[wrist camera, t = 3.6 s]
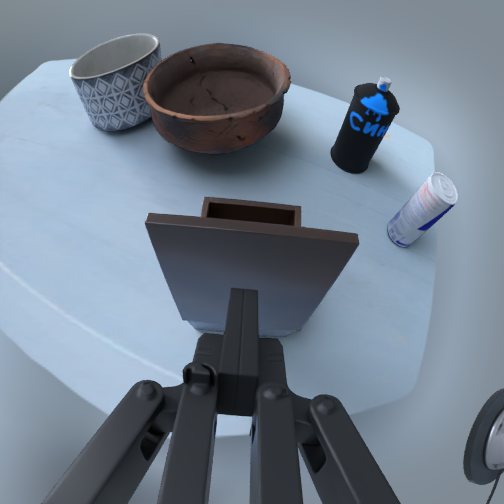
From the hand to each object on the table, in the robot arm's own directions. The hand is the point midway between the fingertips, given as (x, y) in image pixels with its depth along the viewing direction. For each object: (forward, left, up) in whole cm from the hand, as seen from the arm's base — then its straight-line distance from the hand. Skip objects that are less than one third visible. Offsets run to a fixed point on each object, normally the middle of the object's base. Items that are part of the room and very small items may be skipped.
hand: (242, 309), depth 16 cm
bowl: (+39, +3, -24) cm, 46 cm away
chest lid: (+3, -1, -6) cm, 7 cm away
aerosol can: (+33, -23, -24) cm, 47 cm away
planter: (+50, +24, -24) cm, 60 cm away
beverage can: (+16, -29, -24) cm, 41 cm away
